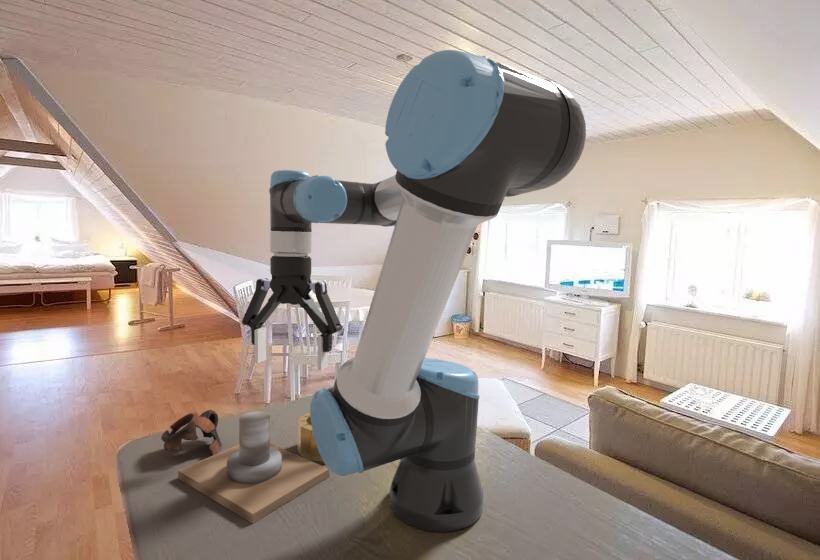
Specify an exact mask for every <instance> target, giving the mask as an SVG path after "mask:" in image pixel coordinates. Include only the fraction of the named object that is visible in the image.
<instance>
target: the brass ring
mask: <svg viewBox="0 0 820 560" xmlns="http://www.w3.org/2000/svg"><path fill="white" fill-rule="evenodd" d="M297 452H298V454H299V456H300V457H303V458H305V459H307V460H310V461H312V462H320V463H321V462H323V463H324V461H323V459H322V457H321V455H320V453H319V451H318V448H317V445H316V442H315V439H314V435H313V430H312V425H311V417H310V411H309V412H307V413H304V414H303V415H302V414H301V416H300V417H299V419H298V420H297Z"/></svg>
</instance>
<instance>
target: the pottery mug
mask: <svg viewBox="0 0 820 560" xmlns="http://www.w3.org/2000/svg"><path fill="white" fill-rule="evenodd" d="M218 424H219V415H218V412H216V411H215V410H213V409H207V410H205V411H203V412H202V413H201V414H200V415H199V414H198V413H197V412H196V411H195V412H190V413H187V414H185V415H184V416H182V417H180V418H178V420H176V421H175V422H174V423H172V424H171V425H170V426H169V427H170V429H171V431H169V430H168V429H166V430H165V431H164V432H163V433H162V435H161V437H160V438H161V439H160V440H161V441H163V450H164V451H165V452H167V451H172V450H177V451H181V450H182V448H181V447H182V446H181V445H182V440H185V441H196V440H199V436H198V435H197V428H198V429H200V431H201V433H202V436H203V438H209V439H211V438H213V441H212V442H211V444H210V445H209V446H208V449H209V450H210V451H211V456H213V455H215V454H218V453H219V451H220V450H221V448H222V446H223V445H222V442H221V440H220V439H221V438H220V436H219V434H218V432H217V428H218Z"/></svg>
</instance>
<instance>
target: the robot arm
mask: <svg viewBox="0 0 820 560" xmlns="http://www.w3.org/2000/svg"><path fill="white" fill-rule="evenodd" d="M391 100H392V101H391V103H390V106H389V109H388V111H387V112H388V113H387V116H386V120H385V121H386V122H385V131H384V134H385V135H386V137H388V138H387V140H386V141H385V144H384V145H385V150H386V154H387V157H388V160H389V162H390V163H391V165H392V166H393V168H394V169H395V170H396V172H395V175H392V176H390V177H388V178H385V179H383V180H380V181H378V182H375V183H366V182H357V181H348V180H347V181H346V180H339V179H336V178H334V177H333V176H329V175H317V174H316V175H312V176H311V174H310V173H308V172H305V171H303V170H295V169H294V170H293V169H292V170H291V169H283V170H274V171H272V173H271V176H270V183H269V184H270V186H269V190H268V191H269V200H270V201H269V205H270V207H269V214H270V215H269V216H270V217H269V219H270V221H269V222H270V234H269V235H270V237H269V239H270V240H269V249H270V250H269V252H270V253H271V254H273V255H272V256H271V257H269V258H270V260H269V261H270V271H269V272H270V275H271V279H269V278H259V279H258V278H257V279H256V282H255V290H254V292H253V295H252V298H251V300H250V302H249V304H248V307H247V309H246V311H245V313H244V316H243V318H242V321H241V323H242V325H243V326H247V327H249V328H250V329H251V330H250V332H251V336H250V337H251V344H252V346H254V363H255V364H259V363H262V362H265V361H267V327H264V326H265V325H264V324H265V323H266V322H267V320H269V318H270V316H272V314H273V313H274V311H275V310H276V309H277V308H278V307H279V305H281V304H282V305H287V304H289V305H292V306H293V305H296V306H297V305H299V306H300V307H301V308H303V310H304V312H306V314H307V315H308V316H309V318H310V320H312V323H314V324H313V325H315V327H317V329H318V331H319V332H320V333H321V334H318V335H317V371H322V370H325V369H326V368H328V367H329V366H328V365H329V364H328V363H329V352H331V351H332V349H333V335H334V334H336V333H338V332H340V331H342V329H343V326H342V324H341V322H340V319H339V317H338V315H337V312H336V310H335V308H334V306H333V303H332V300H331V299H330V296H329V294H328V287H327V285H328V284H327V282H326V281H324V280H323V281H316V282H312V280H311V276H312V258H311V256H309V254H311V253H312V224H334V225H335V224H336V225H338V224H341V225H362V226H364V225H365V226H381V227H383V228H384V227H386V228H387V227H388V228H389V227H394V228H393V231H392V234H391V238H390V240H389V241H390V242H389V245H388V248H387V251H386V254H385V257H384V260H383V263H382V265H381V266H382V267H381V271H380V274H379V277H378V280H377V283H376V287H375V290H374V293H373V296H372V299H371V302H370V304H369V305H370V306H369V310H368V312H367V316H366V319H365V322H364V325H363V329H362V332H361V335H360V339H359V342H358V345H357V347H356V351H355V354H354V356H353V357H351V358H349V359H348V360H346V361H345V362H344V363H343V364H342V365H341V366H340V367H339V369H338V371H337V375H336V377H335V381H334V384H333V386H331V387H330V388H327V387H324V388H322V389H320V390H317V391H315V392H314V394H313V395H312V397H311V399H310V407H309V409H310V410H309V412H310V417H311V425H312V430H313V435H314V439H315V442H316V445H317V448H318V451H319V453H320V455H321V457H322V459H323V461H324V462H323V463H324V464H325V466H326V468H328V469H329V472H332V473H333V474H335V475H336V476H340V477H345V476H348V475H353V474H357V473H359V474H362V473H364V472H366V471H369V470H372V469H374V468H378V467H380V466H384V465H387V464H390V463H393V462H395V461H398V464H397V468H396V470H395V473H394V475H393V478H392V480H391V483H390V488H389V505H390V508H391V509H392V512H393V513H394V514H395V516H397V517H398V519H400V520H402V521H403V522H404V523H406V524H408V525H410V526H412V527H414V528H417V529H421V530H424V531H430V532H437V533H438V532H440V533H441V532H442V533H443V532H454V531H458V530H462V529H465V528H467V527H470V526H472V525H473V524H475V523H476V522H477V521H478V520H479V518H481V516H482V513H483V510H484V490H483V487H482V482H481V479H480V478H481V477H480V475H479V471H478V468H477V463H476V457H475V455H476V443H477V442H476V441H477V440H476V439H477V428H478V427H477V426H478V412H479V399H480V394H479V377H478V375H477V374H476V372H475V371H474V370H473V369H472V368H469V367H468V366H465V365H463V364H460V363H457V362H453V361H450V360H449V361H448V360H444V359H438V358H429V357H427V358H426V355H427V353H428V350H429V349H430V346H431V343H432V340H433V338H434V335H435V334H436V331H437V328H438V325H439V323H440V321H441V318H442V316H443V313H444V311H445V308H446V306H447V303H448V300H449V298H450V295H451V293H452V291H453V288H454V285H455V283H456V280H457V278H458V276H459V273H460V270H461V267H462V265H463V264H464V263H463V262H464V260H465V259H466V256H467V254H468V251H469V248H470V246H471V243H472V240H473V239H474V237H475V236H474V235H475V233H476V231H477V228H478V226H479V225H480V224H482V223H484V222H487V221H489V220H493V219H494V218H496V217H497V216H498V214H499V213H500V209H501V207H502V205H503V202H504V200H505V198H509V197H510V198H511V197H515V196H519V195H520V196H521V195H524V194H528V193H531V192H537V191H541V190H544V189H547V188H550V187H552V186H554V185H557V184H558V183H559V182H560V181H562V180H563V179H564V178H566V177H567V176H568V175H569V174H570V173H571V172H572V171H573V170H574V168H575V167H576V165H577V163H578V162H579V160H580V159H581V156H582V153H583V152H584V148H585V144H586V136H587V129H586V120H585V116H584V113H583V110H582V108H581V105H580V104H579V102H578V101H577V100H576V98H575V97H574V95H572V93H570V92H569V91H568V89H566V88H564V87H563V86H561V85H560V84H558V83H556V82H554V81H551V80H549V79H545V78H540V77H538V76H535V75H533V74H530V73H527V72H525V71H521V70H519V69H516V68H513V67H511V66H508V65H506V64H503V63H501V62H498V61H496V60H494V59H491V58H489V57H487V56H486V55H477V54H474V53H469V52H464V51H462V50H461V51H460V50H456V49H444V50H439V51H436V52H433V53H431V54H429V55H426V57H424V58H423V59H421V61H420V62H419V63H418V64H416V65H414V66H413V67H412V68H411V69H410V70H409V72H408V73H407V74H406V75H405V77H404V78H403V79H402V81H401V82H400V84H399V85H398V88H397V89H396V91H395V93H394V96H393V98H392V99H391ZM270 289H271V291H272V292H273V293H272V294H271V295H270V297H269V298H268V300H267V302H266V303H265V305H264V306H263V307H262V305H263V303H264V301H265V299H266V297H267V294H268V291H269V290H270ZM311 291H312V293H314V295H315V298H316V300H317V302H318V305H319V307H320V309H319V307H318V306H317V305H316V303H315V300H314V298H313V297H312V296H311V294H310V293H311Z"/></svg>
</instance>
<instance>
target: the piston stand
mask: <svg viewBox="0 0 820 560" xmlns="http://www.w3.org/2000/svg"><path fill="white" fill-rule="evenodd" d="M238 422H239V423H238V427H239V428H238V431H239V432H238V436H239V437H238V439H239V440H238V441H239V442H238V443H239V444H237V445H234V446H231V447H230V448H227V449H225V450H222V451H220V452H218V453H217V454H215V455H211V456H208V457H206V458H204V459H201V460H199V461H196V462H194V463H193V464H190V465H187V466H185V467H182V468H180V469H178V470H177V479H178V480H180V481H181V482H183V483H185V484H186V485H188V486H189V487H192V488H193V489H195V490H196V491H198V492H200V493H202V494H203V495H205V496H206V497H208V498H210V499H211V500H212V501H214V502H216V503H218V504H219V505H221V506H223V507H224V508H226V509H228V510H230V511H231V512H233V513H235V514H237V515H239V517H240V518H243V519H244V520H247V522H249V523H251V524H255V523H256V522H258V521H259V520H261V519H263V518H264V517H266V516H268V515H269V514H270V513H273V512H274V511H276V510H277V509H280V508H281V507H283V506H284V505H286V504H287V503H289V502H290V501H292V500H294V499H295V498H297V497H299V496H301V495H302V494H304V493H305V492H308V491H309V490H311V489H312V488H313V487H315V486H317V485H319V484H320V483H322V482H323V481H325V480H327V479H328V478H329V477H330V470H329V468H328V467H327V466H326V467H325V466H323V465H321V464H319V463H316V462H315V461H310V460H307V459H305V458H303V457H301V456H300V455H298V454H296V453H293V452H292V451H289V450H287V449H284V448H282V447H280V446H277V445H275V444H272V443H271V416H270V413H268V412H266V411H260V410H257V411H249V412H247V413H243V414H241V415H240V416H239V419H238Z"/></svg>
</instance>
